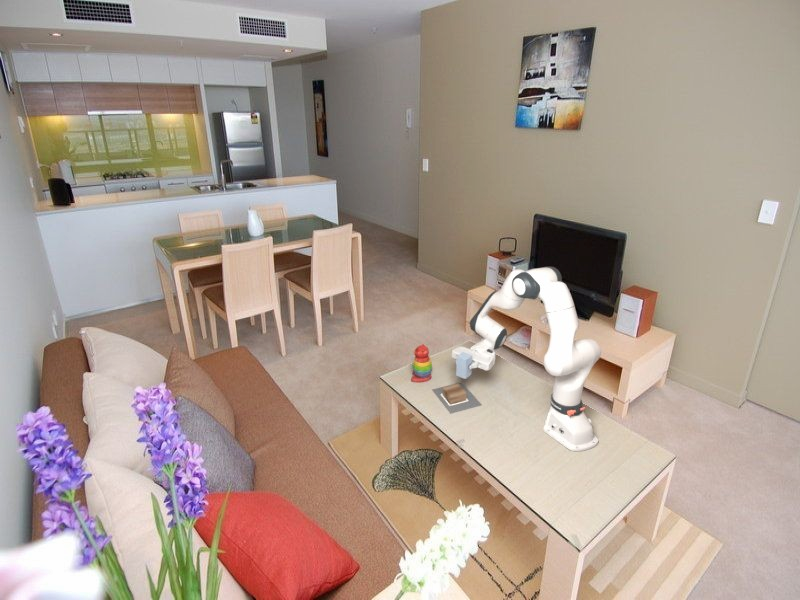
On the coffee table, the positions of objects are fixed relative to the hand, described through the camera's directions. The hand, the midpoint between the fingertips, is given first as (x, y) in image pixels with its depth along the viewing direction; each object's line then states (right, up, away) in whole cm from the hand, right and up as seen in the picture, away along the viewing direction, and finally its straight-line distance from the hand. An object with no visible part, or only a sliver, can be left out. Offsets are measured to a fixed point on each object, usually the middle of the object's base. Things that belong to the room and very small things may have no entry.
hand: (463, 365), depth 209 cm
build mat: (-2, -16, +6) cm, 17 cm away
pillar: (+1, -5, +3) cm, 6 cm away
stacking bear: (-18, -9, +23) cm, 30 cm away
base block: (-3, -16, +6) cm, 17 cm away
